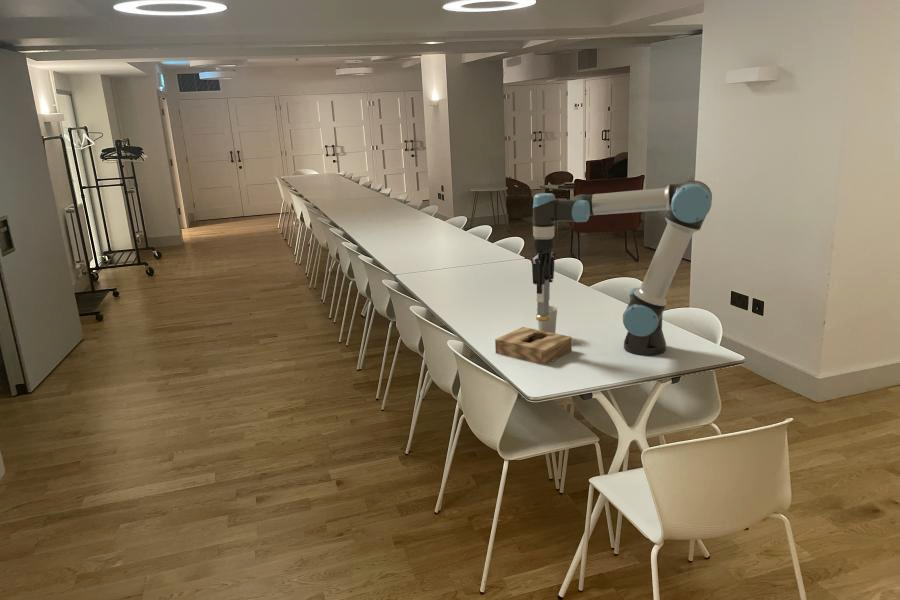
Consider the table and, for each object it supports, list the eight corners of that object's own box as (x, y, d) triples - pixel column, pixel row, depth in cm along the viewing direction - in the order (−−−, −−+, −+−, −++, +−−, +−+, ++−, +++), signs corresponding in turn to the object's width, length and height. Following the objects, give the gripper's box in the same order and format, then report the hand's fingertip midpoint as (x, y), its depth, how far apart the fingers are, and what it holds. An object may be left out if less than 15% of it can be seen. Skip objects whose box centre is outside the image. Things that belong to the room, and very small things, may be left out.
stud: (552, 318, 244) (552, 279, 240) (545, 321, 240) (545, 281, 236) (540, 316, 247) (541, 277, 243) (533, 319, 244) (533, 280, 240)
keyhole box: (571, 350, 247) (571, 336, 246) (545, 365, 234) (544, 350, 233) (523, 340, 261) (523, 326, 260) (495, 353, 248) (495, 339, 247)
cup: (542, 341, 259) (541, 312, 255) (533, 335, 266) (533, 307, 263) (560, 339, 261) (560, 309, 257) (552, 333, 268) (552, 304, 265)
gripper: (546, 233, 244) (545, 294, 250) (522, 239, 232) (522, 304, 238) (564, 234, 239) (563, 297, 246) (540, 241, 227) (540, 307, 234)
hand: (543, 300), depth 242 cm, fingers closed on stud, 3 cm apart
